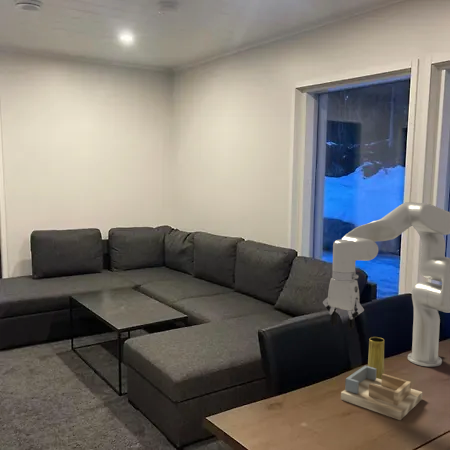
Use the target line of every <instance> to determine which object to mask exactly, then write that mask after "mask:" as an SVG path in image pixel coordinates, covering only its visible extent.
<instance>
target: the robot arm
mask: <svg viewBox="0 0 450 450" xmlns="http://www.w3.org/2000/svg"><path fill="white" fill-rule="evenodd" d="M411 227H412V228H413V229H415V231H416V233H418V235H419V238H420V242H421V248H420V257H419V265H418V269H419V270H418V271H419V274H420V276H421V277H423V278H425V279H428V280H431V281H434V282H435V281H436V282H440V283H441V284H437V283H433V282H430V281H419V282H417V283H416V284H415V285H413V287H412V289H411V300H412V306H413V324H412V346H411V351H412V352H410V353H408V354H407V360H408V361H409V362H411V364H415V365H418V366H420V367H421V366H422V367H430V368H433V367H439V366H441V365H442V363H443V360H442V358H441V357H440V356H439V341H440V340H439V339H440V323H441V319H440V318H441V317H440V314H439V311H440V312H443V313H450V257H447V256H445V255H446V254H445V253H446V239H445V236H448V235H450V211H448V210H445V209H443V208H440V207H438V206H436V205H432V204H430V203H426V202H412V201H411V202H410V201H409V202H403V203H402V204H400V205H398V206H397V207H395V208H394V209H393V210H391V211H390V212H388V213H387V214H386V215H384V216H383V217H381V218H380V219H377V220H373V221H371V222H368V223H365V224H362V225H359V226H357V227H355V228H353V229H352V230H350V231H349V232H348V233H346V234H345V235H344V236H343V237H341V239H337V240H335V241H333V245H332V274H331V276H332V277H331V278H330V281H329V286H328V292H327V297H326V298H325V299H324V300H323V301H322V305H324V307H325V308H326V309H327V311H328V313H329V315H330V326H331V327H334V326H336V325H338V312H337V310H338V309H339V310H344V311H345V310H346V311H347V314H348V317H349V318H348V319H347V326H346V327H347V330H348V331H351V330H353V329H354V328H355V325H356V324H355V320H356V318H357V317H358V316H359V315H360V314H361V313H363V312H364V311H365V309H364V307H363V306H362V304H361V303H360V289H359V283H358V279H359V274H356V261H365V262H366V261H367V262H368V261H371V260H373V259H375V258H376V257H377V256H378V254H379V245H378V244H377V242H386V241H392V240H394V239H396V238H397V237H399V236H400V235H402V234H403V233H404V232H405V231H407V230H408V229H410V228H411ZM355 309H357V310H355Z"/></svg>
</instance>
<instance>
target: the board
mask: <svg viewBox="0 0 450 450" xmlns="http://www.w3.org/2000/svg"><path fill="white" fill-rule="evenodd" d="M340 400H342V401H343V402H347V403H350V404H353V405H355V406H358V407H361V408H364V409H367V410H369V411H372V412H375V413H379V414H381V415H383V416H387V417H389V418H393V419H394V420H395V419H396V420H398V421H402V419H404V417H405V416H406V415H408V414H409V412H411V411H412V409H414V407H415V408H416V406H417V405H418V404H419V403H420V402H421V401H422V400H423V391H420V390H417V389H414V388H412V381H410V380H406V379H404V378H403V379H402V378H401V377H396V376H393V375H390V374H386V373H384V374H382V380H381V379H378V378H376V380H375V381H374V380H371V379H368V378H366V379H365V380H363V381H362V382H361V383H359V393H358V394H355V393H353V392H350V391H347V390H345V389H344V390H342V391H340Z"/></svg>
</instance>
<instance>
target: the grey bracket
mask: <svg viewBox="0 0 450 450" xmlns="http://www.w3.org/2000/svg"><path fill="white" fill-rule="evenodd" d="M376 371H377V369H376V368H373V367H369V366H368V365H364V366H362V367H361V368H359V369H357V370H356V371H354V372H353V373H352V374H351V375H349V376H348V377H346V378H345V384H344V385H345V386H344V387H345V388H344V390H347V391H350V392H353V393H355V394H358V393H359V383H361V382H362V381H363V380H365V379H366V378H368V379H371V380H374V381H375V380H376Z"/></svg>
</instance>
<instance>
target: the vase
mask: <svg viewBox="0 0 450 450" xmlns="http://www.w3.org/2000/svg"><path fill="white" fill-rule="evenodd" d="M368 340H369V341H368V357H367V358H368V359H367V366H369V367H373V368H376V369H377V371H376V378H378V379H381V380H382V374H385V339H384V338H382V337H378V336H371V337H370V338H369V339H368Z"/></svg>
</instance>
